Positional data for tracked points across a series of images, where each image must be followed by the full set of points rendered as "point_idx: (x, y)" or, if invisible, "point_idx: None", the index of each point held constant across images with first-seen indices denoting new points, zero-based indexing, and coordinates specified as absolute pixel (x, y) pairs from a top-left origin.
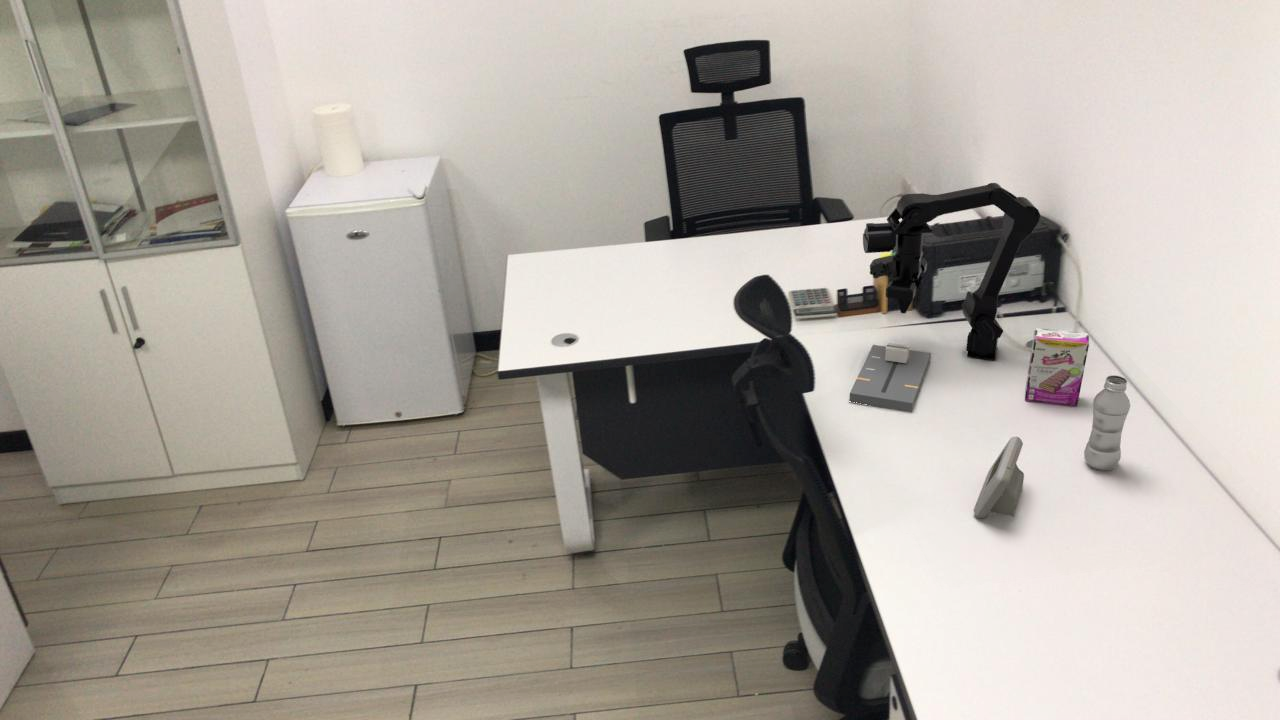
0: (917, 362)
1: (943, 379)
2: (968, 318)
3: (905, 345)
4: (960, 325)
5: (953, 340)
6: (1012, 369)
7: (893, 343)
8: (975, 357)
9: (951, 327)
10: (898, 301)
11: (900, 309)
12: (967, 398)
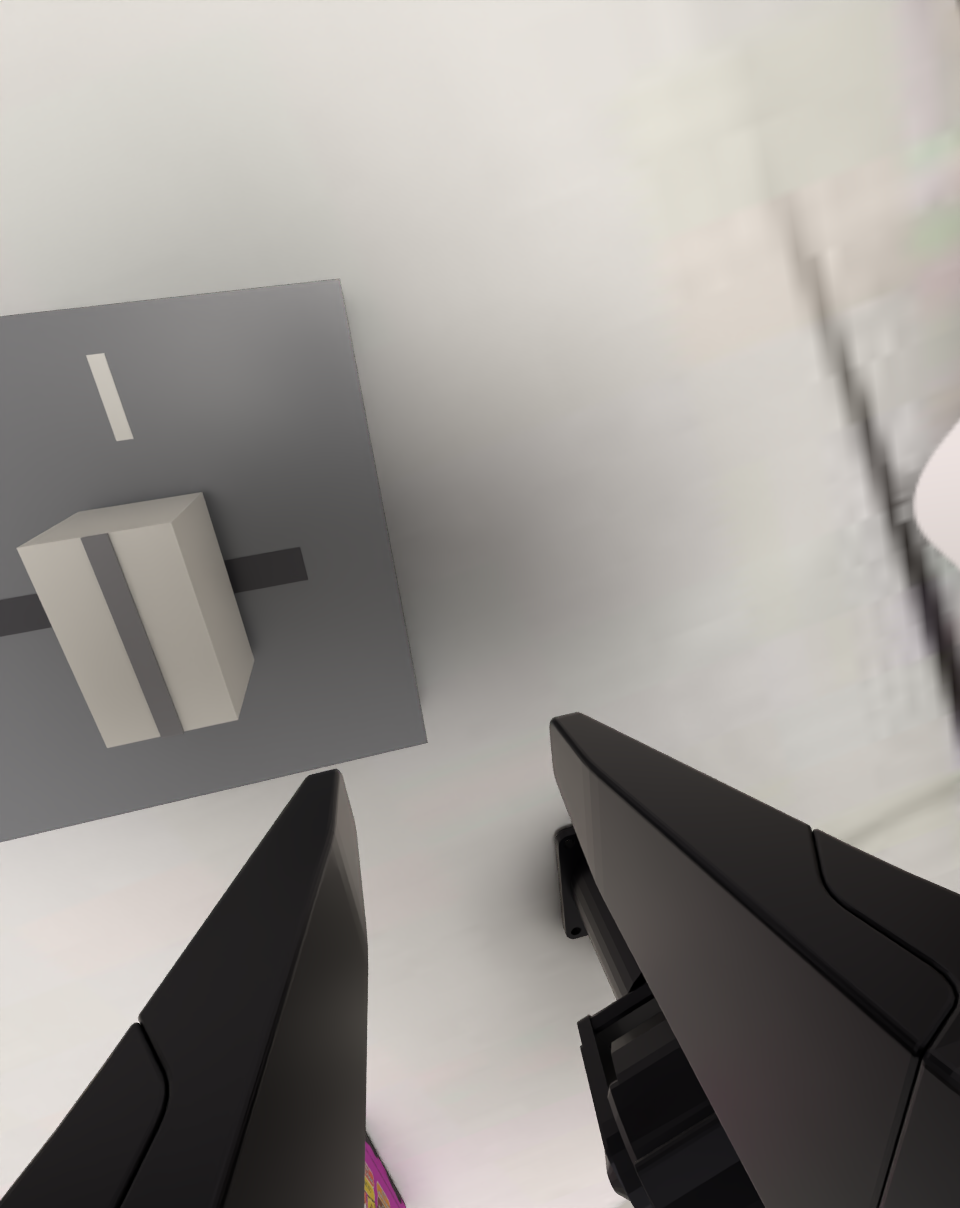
0: (237, 726)
1: (249, 837)
2: (668, 1089)
3: (216, 689)
4: (887, 674)
5: (716, 708)
6: (517, 1003)
7: (189, 574)
8: (559, 867)
9: (859, 644)
10: (120, 1053)
11: (274, 832)
12: (121, 995)
